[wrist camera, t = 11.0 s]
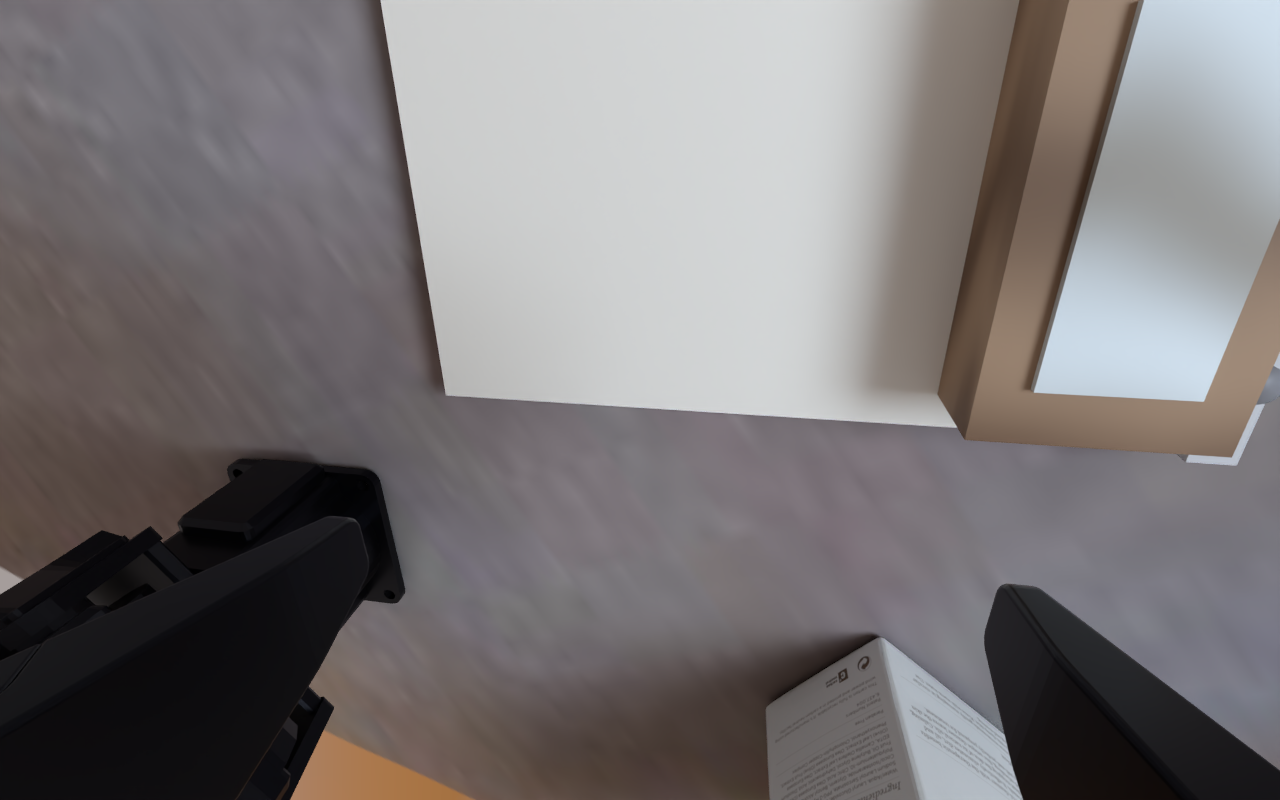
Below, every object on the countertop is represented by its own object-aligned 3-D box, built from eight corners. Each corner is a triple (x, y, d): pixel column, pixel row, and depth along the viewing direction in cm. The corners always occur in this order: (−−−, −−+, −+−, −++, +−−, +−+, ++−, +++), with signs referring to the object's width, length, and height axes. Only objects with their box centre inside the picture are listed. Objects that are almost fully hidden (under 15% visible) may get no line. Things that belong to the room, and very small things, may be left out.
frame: (1164, 407, 17) (1237, 461, 15) (937, 394, 18) (967, 443, 16) (1350, -76, 13) (1507, -125, 10) (1031, -58, 14) (1096, -98, 11)
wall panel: (1221, 432, 18) (1284, 477, 16) (455, 386, 22) (422, 417, 20) (1467, -131, 13) (1617, -181, 10) (386, -58, 17) (328, -83, 14)
